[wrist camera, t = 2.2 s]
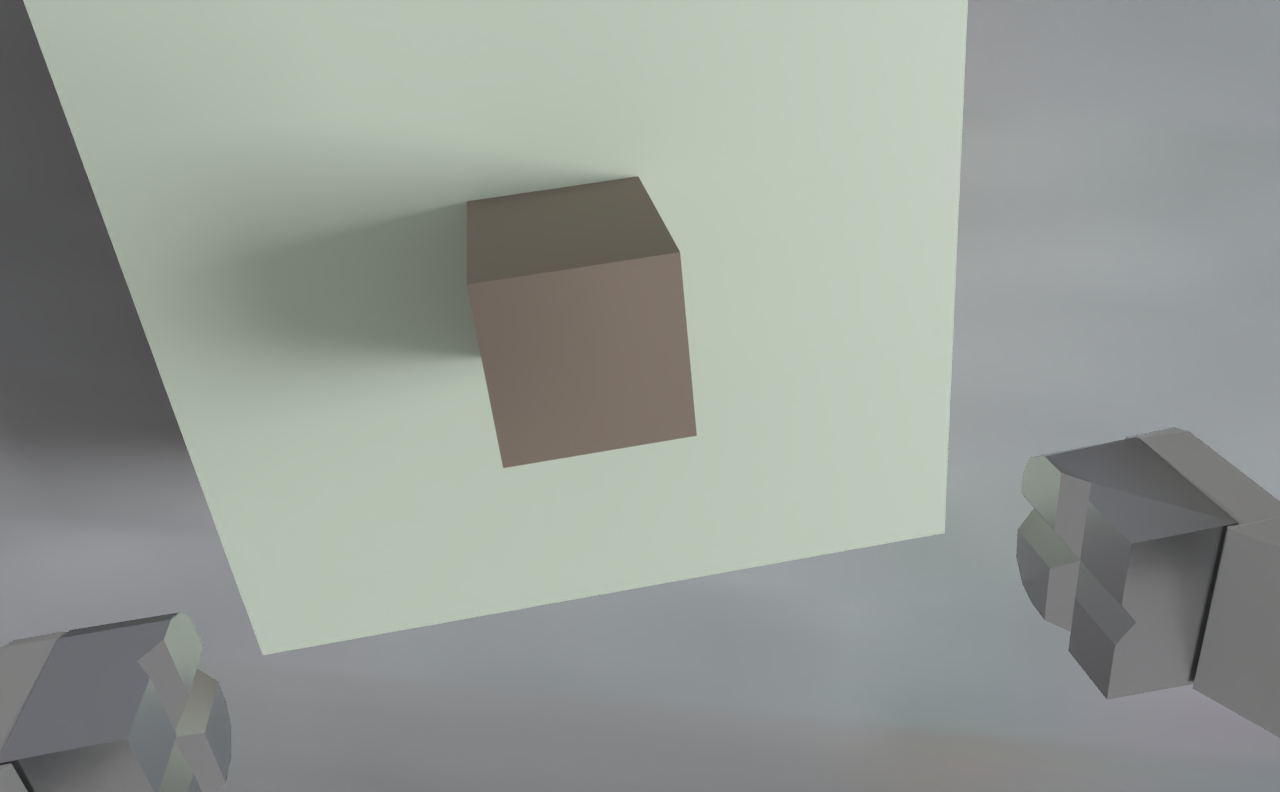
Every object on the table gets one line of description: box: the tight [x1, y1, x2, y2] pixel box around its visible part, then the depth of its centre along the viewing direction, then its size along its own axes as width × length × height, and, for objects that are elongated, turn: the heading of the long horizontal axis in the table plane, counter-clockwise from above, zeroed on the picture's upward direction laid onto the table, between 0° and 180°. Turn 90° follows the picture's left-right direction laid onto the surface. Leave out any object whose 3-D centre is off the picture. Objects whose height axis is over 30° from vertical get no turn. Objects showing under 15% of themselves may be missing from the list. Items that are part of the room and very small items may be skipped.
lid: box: [23, 0, 968, 655], centre depth 17 cm, size 15×15×5 cm
